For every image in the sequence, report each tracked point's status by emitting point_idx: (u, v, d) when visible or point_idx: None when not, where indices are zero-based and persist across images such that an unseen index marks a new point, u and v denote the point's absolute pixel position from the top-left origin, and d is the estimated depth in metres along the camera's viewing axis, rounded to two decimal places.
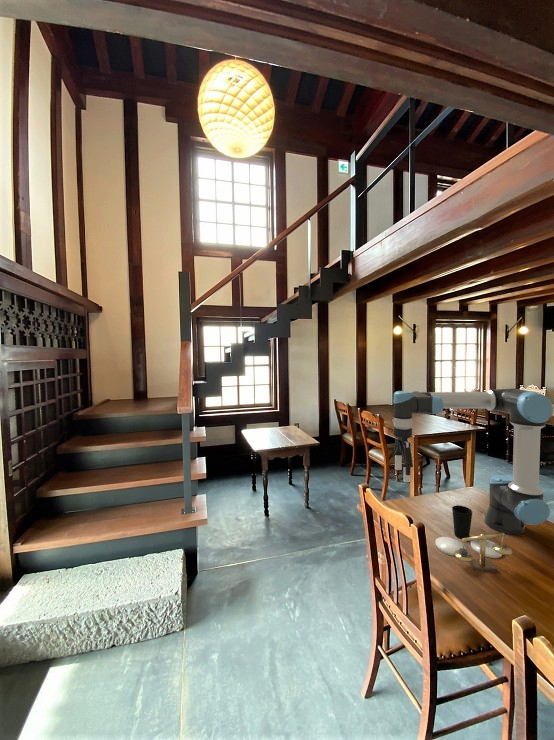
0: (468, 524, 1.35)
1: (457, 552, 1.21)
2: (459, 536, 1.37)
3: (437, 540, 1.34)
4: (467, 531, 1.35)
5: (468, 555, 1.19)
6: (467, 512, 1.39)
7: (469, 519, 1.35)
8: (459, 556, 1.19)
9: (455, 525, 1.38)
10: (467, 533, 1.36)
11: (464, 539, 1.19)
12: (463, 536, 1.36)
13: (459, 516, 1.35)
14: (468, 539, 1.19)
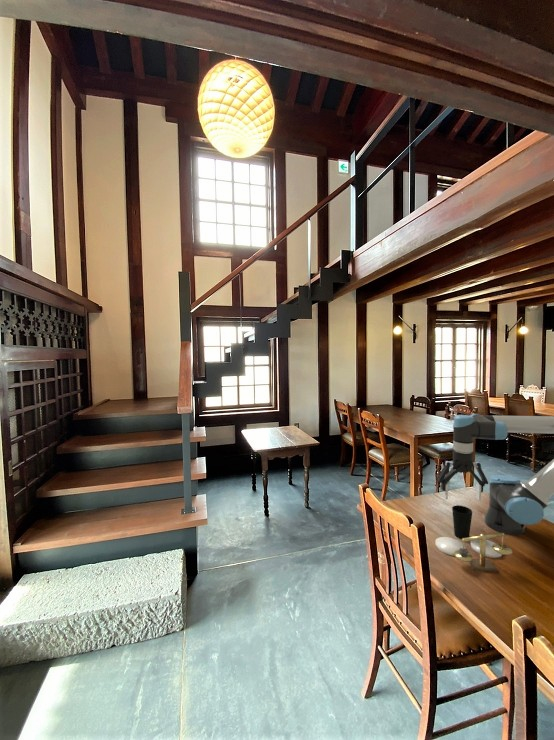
0: (468, 524, 1.35)
1: (457, 552, 1.21)
2: (459, 536, 1.37)
3: (437, 540, 1.34)
4: (467, 531, 1.35)
5: (468, 555, 1.19)
6: (467, 512, 1.39)
7: (469, 519, 1.35)
8: (459, 556, 1.19)
9: (455, 525, 1.38)
10: (467, 533, 1.36)
11: (464, 539, 1.19)
12: (463, 536, 1.36)
13: (459, 516, 1.35)
14: (468, 539, 1.19)
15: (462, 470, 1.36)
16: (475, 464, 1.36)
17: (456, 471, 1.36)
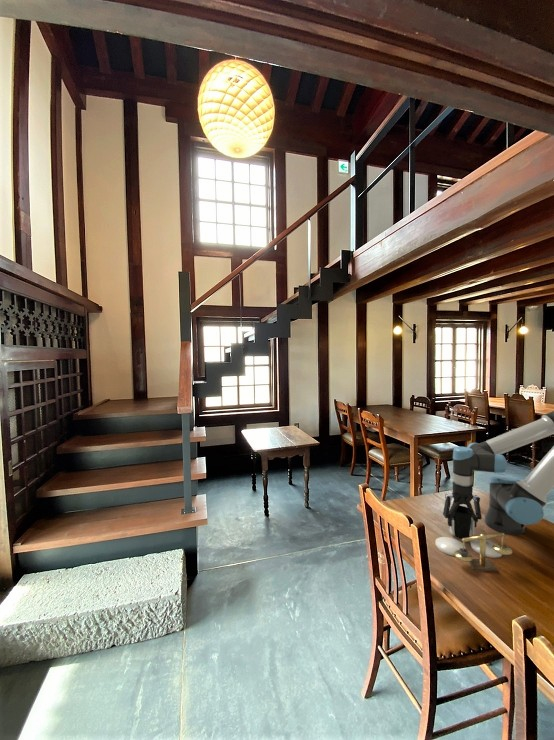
0: (468, 524, 1.35)
1: (457, 552, 1.21)
2: (459, 536, 1.37)
3: (437, 540, 1.34)
4: (467, 531, 1.35)
5: (468, 555, 1.19)
6: (467, 512, 1.39)
7: (469, 519, 1.35)
8: (459, 556, 1.19)
9: (455, 525, 1.38)
10: (467, 533, 1.36)
11: (464, 539, 1.19)
12: (463, 536, 1.36)
13: (459, 516, 1.35)
14: (468, 539, 1.19)
15: (462, 502, 1.37)
16: (474, 497, 1.37)
17: (458, 504, 1.36)
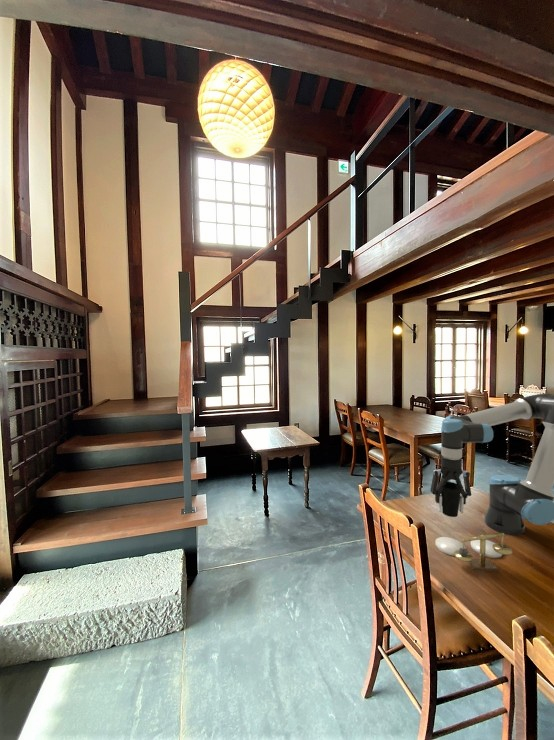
0: (456, 500, 1.27)
1: (457, 552, 1.21)
2: (447, 513, 1.28)
3: (437, 540, 1.34)
4: (455, 508, 1.27)
5: (468, 555, 1.19)
6: (456, 488, 1.31)
7: (458, 495, 1.26)
8: (459, 556, 1.19)
9: (443, 502, 1.30)
10: (455, 510, 1.27)
11: (464, 539, 1.19)
12: (451, 513, 1.28)
13: (447, 492, 1.27)
14: (468, 539, 1.19)
15: (450, 477, 1.28)
16: (464, 472, 1.28)
17: (446, 479, 1.28)
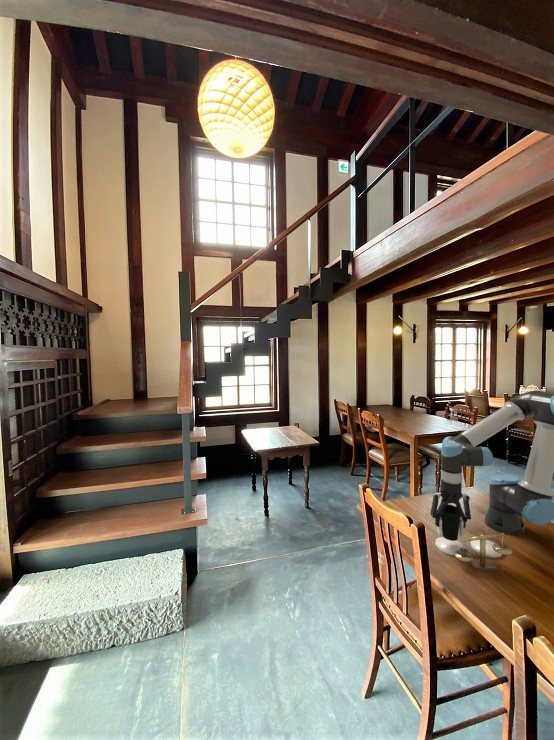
0: (456, 524, 1.27)
1: (457, 552, 1.21)
2: (447, 537, 1.29)
3: (437, 540, 1.34)
4: (455, 532, 1.27)
5: (468, 555, 1.19)
6: (456, 511, 1.31)
7: (458, 519, 1.27)
8: (459, 556, 1.19)
9: (443, 525, 1.30)
10: (455, 534, 1.27)
11: (464, 539, 1.19)
12: (451, 537, 1.28)
13: (447, 516, 1.27)
14: (468, 539, 1.19)
15: (450, 501, 1.28)
16: (464, 496, 1.28)
17: (446, 503, 1.28)
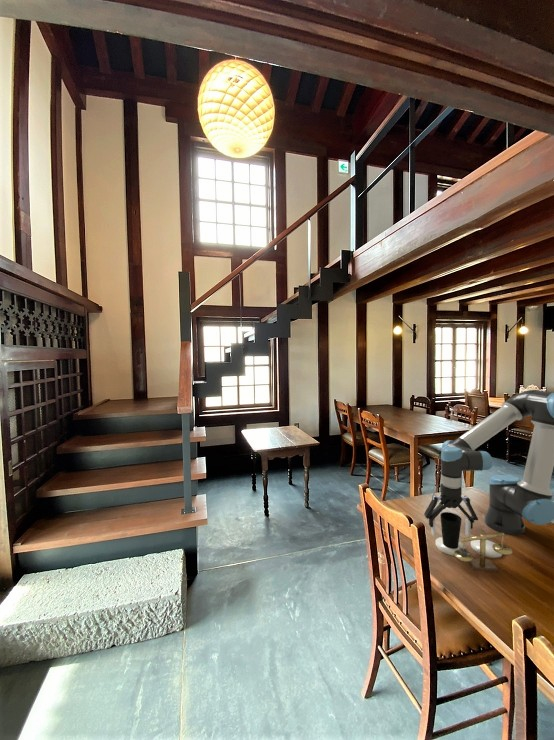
0: (457, 532, 1.27)
1: (457, 552, 1.21)
2: (447, 545, 1.29)
3: (437, 540, 1.34)
4: (456, 540, 1.27)
5: (468, 555, 1.19)
6: (456, 519, 1.31)
7: (458, 527, 1.27)
8: (459, 556, 1.19)
9: (443, 533, 1.30)
10: (456, 542, 1.28)
11: (464, 539, 1.19)
12: (452, 545, 1.28)
13: (448, 524, 1.27)
14: (468, 539, 1.19)
15: (450, 505, 1.29)
16: (464, 499, 1.28)
17: (444, 507, 1.28)
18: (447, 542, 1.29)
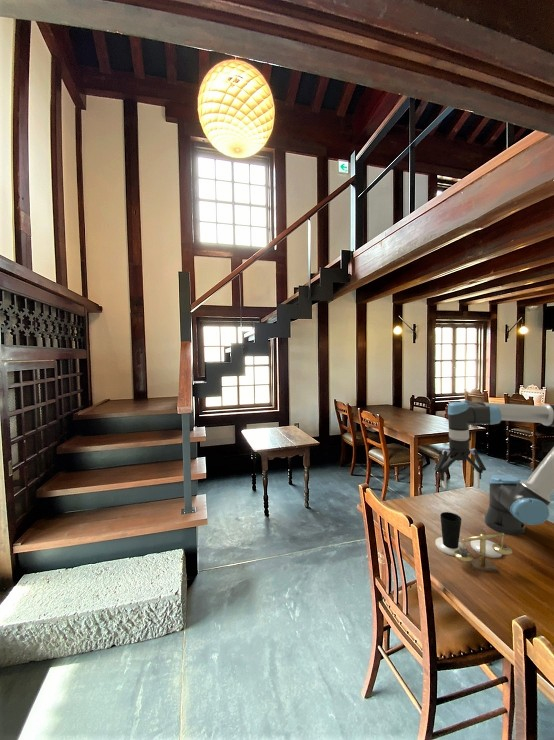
0: (457, 532, 1.27)
1: (457, 552, 1.21)
2: (447, 545, 1.29)
3: (437, 540, 1.34)
4: (456, 540, 1.27)
5: (468, 555, 1.19)
6: (456, 519, 1.31)
7: (458, 527, 1.27)
8: (459, 556, 1.19)
9: (443, 533, 1.30)
10: (456, 542, 1.28)
11: (464, 539, 1.19)
12: (452, 545, 1.28)
13: (448, 524, 1.27)
14: (468, 539, 1.19)
15: (459, 458, 1.33)
16: (472, 451, 1.34)
17: (453, 459, 1.33)
18: (447, 542, 1.29)
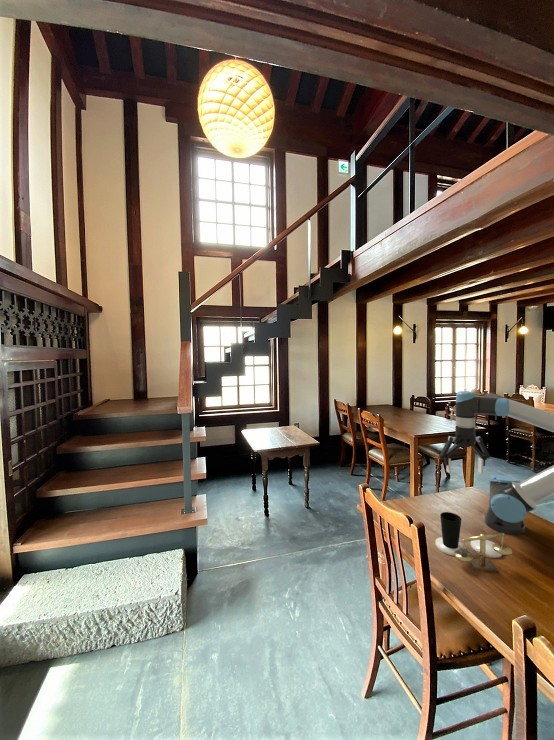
0: (457, 532, 1.27)
1: (457, 552, 1.21)
2: (447, 545, 1.29)
3: (437, 540, 1.34)
4: (456, 540, 1.27)
5: (468, 555, 1.19)
6: (456, 519, 1.31)
7: (458, 527, 1.27)
8: (459, 556, 1.19)
9: (443, 533, 1.30)
10: (456, 542, 1.28)
11: (464, 539, 1.19)
12: (452, 545, 1.28)
13: (448, 524, 1.27)
14: (468, 539, 1.19)
15: (464, 444, 1.40)
16: (477, 439, 1.40)
17: (459, 445, 1.40)
18: (447, 542, 1.29)
